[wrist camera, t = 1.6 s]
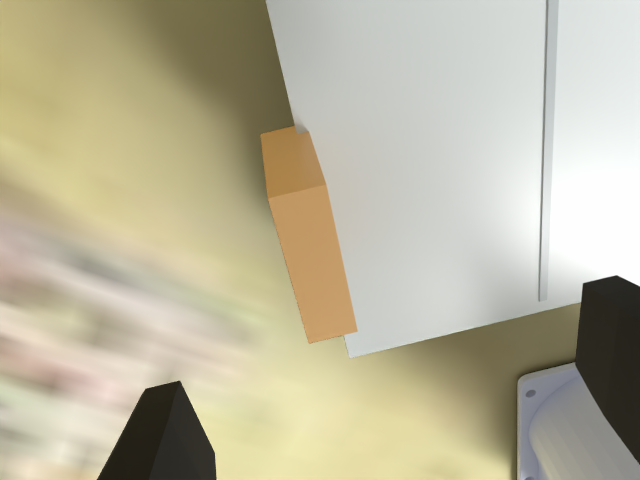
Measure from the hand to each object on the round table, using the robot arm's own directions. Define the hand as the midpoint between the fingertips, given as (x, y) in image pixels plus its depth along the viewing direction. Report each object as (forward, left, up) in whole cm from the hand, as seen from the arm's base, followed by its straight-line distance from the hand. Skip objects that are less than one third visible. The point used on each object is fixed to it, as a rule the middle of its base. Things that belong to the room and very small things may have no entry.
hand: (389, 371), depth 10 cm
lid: (0, -9, -7) cm, 11 cm away
